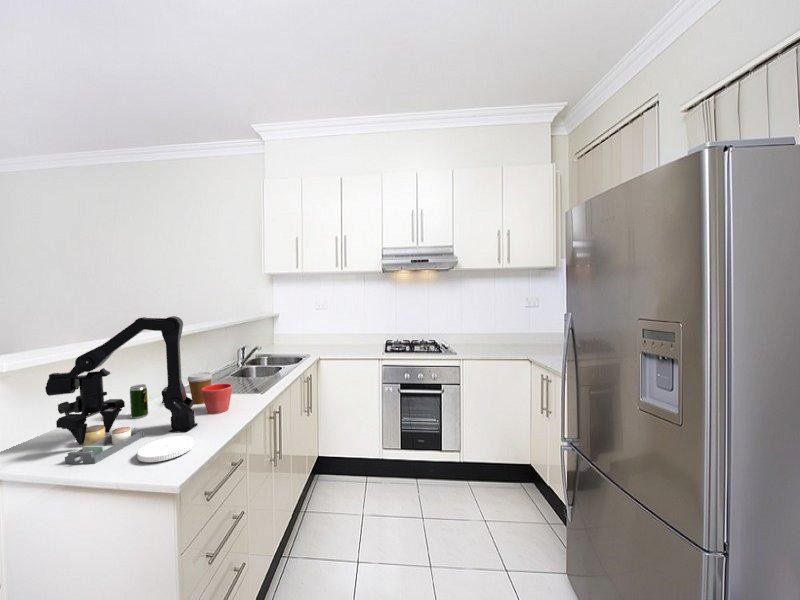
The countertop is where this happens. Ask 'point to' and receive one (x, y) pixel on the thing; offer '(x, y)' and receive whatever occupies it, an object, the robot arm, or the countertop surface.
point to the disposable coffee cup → (198, 385)
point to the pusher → (91, 450)
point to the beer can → (138, 401)
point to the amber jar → (94, 434)
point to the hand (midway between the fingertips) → (94, 438)
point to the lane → (91, 459)
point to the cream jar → (120, 434)
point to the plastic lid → (165, 448)
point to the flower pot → (217, 397)
